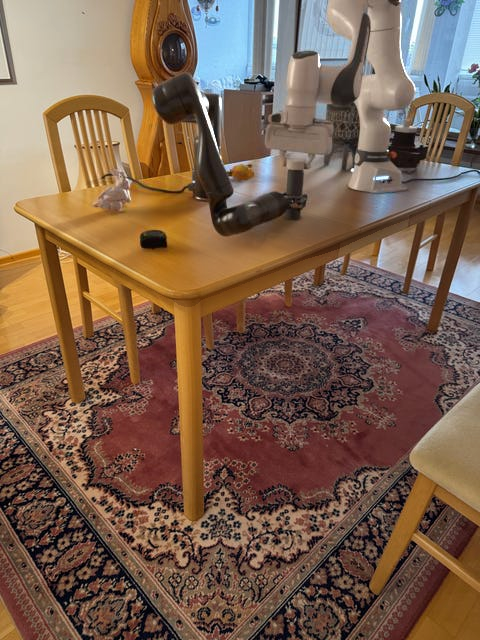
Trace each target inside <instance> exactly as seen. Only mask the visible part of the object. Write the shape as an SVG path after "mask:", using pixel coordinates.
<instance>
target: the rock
mask: <svg viewBox="0 0 480 640" xmlns="http://www.w3.org/2000/svg"><path fill="white" fill-rule="evenodd" d="M333 153H338V154H342V147H340V148H338V149H336V150H335V151H334V152H333ZM348 153H351V151H350V150H349V152H348Z"/></svg>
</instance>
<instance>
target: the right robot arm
mask: <svg viewBox="0 0 480 640" xmlns="http://www.w3.org/2000/svg"><path fill="white" fill-rule="evenodd" d="M401 2H402V0H328V2H327V5H326V11H325V15H326V22H327V23H328V25H329V27H330V28H331V30H332V31H333V32H334V33H335V34H336V35H338V36H340V37H342V38H345V39H347V40H349V41H351V42H350V47H349V52H348V56H347V62H345V63H344V64H342V65H324V64H322V63H321V62H320V54H319V52H318V51H315V50H300V51H299V50H298V51H295V52H294V53H293V54H291V56H290V57H289V58H290V59H289V62H288V67H287V72H286V73H287V74H286V83H285V90H286V100H285V102H284V103H285V104H284V109H283V110H279V111H278V112H275V113H271V114H269V115H268V117H267V120H268V125H267V126H266V128H265V134H264V135H265V136H264V146H265V148H266V149H268V150H276V151H279V153H278V155H279V157H280V159H281V166H282V167H286V164H287V159H288V158H287V156H286V154H287V152H293V153H301V154H307V162H306V163H304V170H307V171H308V170H310V169H311V166H312V163H313V161H314V160H315V158H316V156H317V155H318V156H325V155H328V154H329V153H330V152H331V151H332V135H333V130H334V125H333V124H332V122H330V121H329V120H326V119H322V118H317V106H318V105H317V104H325V105H327V104H334V105H338V106H344V107H347V106H349V105H350V104H352V103H353V102H354V103H355V105H356V107H357V109H358V113H359V119H360V134H359V142H358V148H357V149H356V155H355V166H353V168H351V169H350V172H352V174H351V176H350V180H349V182H348V184H347V187H348V188H350V189H352V190H355V191H359V192H367V193H372V194H386V193H387V194H388V193H393V192H394V193H395V192H404V191H408V186H406V184H407V183H409V182H410V183H411V182H414V181H415V182H417V181H420V182H421V181H425V182H433V181H448V180H453V179H456V178H458V177H460V176H461V175H465V174H468V173H473V172H475V173H477V174H478V175H480V170H478V169H470V170H469V169H468V170H466V171H462V172H460V173H458V174H456V175H453V176H449V177H438V178H437V177H433V178H421V177H420V178H410V179H408V180H405V181H403V173H402V171H400V170H399V169H398V168H397V167H396V166H395V165H394V164H393V163H392V162H391V161H390V157H392V158H395V157H396V156H397V154H395V152H390V151H388V145H389V143H390V139H391V135H392V128H391V125H390V124H389V122H388V121H387V119H386V115H385V111H387V112H396V111H402V110H406V109H408V107H409V106H410V105H411V104H412V102H413V100H414V98H415V94H416V86H415V84H414V82H413V80H412V79H411V78H410V77H409V75H408V74H407V71H406V70H405V66H404V63H403V59H402V50H401V41H402V40H401V38H402V5H401ZM366 59H367V61H368V62H369V63H370V64H371V66H372V68H373V70H374V74H373V73H370V74H365V75H363V73H364V70H365V69H364V68H365V64H366ZM329 123H330V124H329Z"/></svg>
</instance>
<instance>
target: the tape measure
mask: <svg viewBox="0 0 480 640" xmlns="http://www.w3.org/2000/svg"><path fill="white" fill-rule="evenodd" d="M167 236H168V235H167V234H166V232H165V231H164V230H161V229H147V230H144V231H143V232H141V233H140V235H139V240H140V241H139V245H140V246H139V247H141V248H142V249H146V250H157V249H167V248H168V240H167V239H168V237H167Z"/></svg>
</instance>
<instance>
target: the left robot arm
mask: <svg viewBox="0 0 480 640" xmlns="http://www.w3.org/2000/svg"><path fill="white" fill-rule="evenodd" d="M151 102H152V106H153V109H154V111H155V112H156V114H157V116H158V117H159V118H160V119H161V121H163V122H164V123H166V124H167V125H170V126H172V125H177V124H179V123H185V124H194V125H196V126H197V131H198V135H196V136H195V137H194V138H193V142H192V143H193V145H192V146H193V169H192V170H191V179H192V182H191V183H187V185H185V186H183V187H182V189H180V190H168V189H164V188H163V189H162V188H157V187H151V186H148V185H145V184H143V183H141V182H140V181H139V180H138V179H135V178H132V177H129V176H125V177H126V178H127V179H128V180H131V181H132V182H135V183H136V184H138V185H139V186H140V187H142V188H144V189H147V190H149V191H154V192H161V193H166V194H181V193H184V192H185V190H186V189H187V190H188V192H192V198H195V199H196V200H198V201H201V202H208V207H209V212H210V218H211V224H212V226H213V228H214V230H215V232H216V233H218V235H220V237H221V236H222V237H225V238H228V237H231V236H235V235H239V234H243V233H246V232H248V231H251V230H252V229H254V228H255V227H257V226H259V225H262V224H264V223H265V224H266V223H268V222H271V221H273V220H276V219H278V218H281V217H283V216H284V215H285V212H286V210H288V209H291V208H295V207H296V208H297V210H298V211H301V212H302V210H303V209H305V208H306V206H307V202H308V198H309V197H308V196H309V195H308V194H307V193H302V195H300V196H294V195H292V196H286V191H285V192H283V191H281V192H279V191H276V190H275V191H270V192H267V193H263V194H262V195H259V196H257V197H256V198H253V199H250V200H248V201H246V202H244V203H240V204H236V205H234V206H231V207H228V203H227V200H228V199H229V198H231V197H232V196H233V194H234V192H235V191H234V186H233V183H232V182H231V179H230V176H228V174H227V169H226V167H225V164H224V161H223V160H222V117H223V116H222V115H223V100H222V98H221V95H220V94H218V93H206V92H203V91H202V90H200V88H199V85H198V84H197V82H196V80H195V78H194V76H192V74H191V73H190V72H189V71H183V72H180V73H178V74H176V75H174V76H172V77H170V78H168V79H166V80H163V81H162V82H160V83H158V84H157V85H156V86H155V87H154V88H153V90H152V92H151ZM106 177H114V176H113V175H112V173H105V174H103V175H102V176H101V179H105V178H106ZM120 178H122V177H121V175H120ZM297 199H298V201H297Z"/></svg>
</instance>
